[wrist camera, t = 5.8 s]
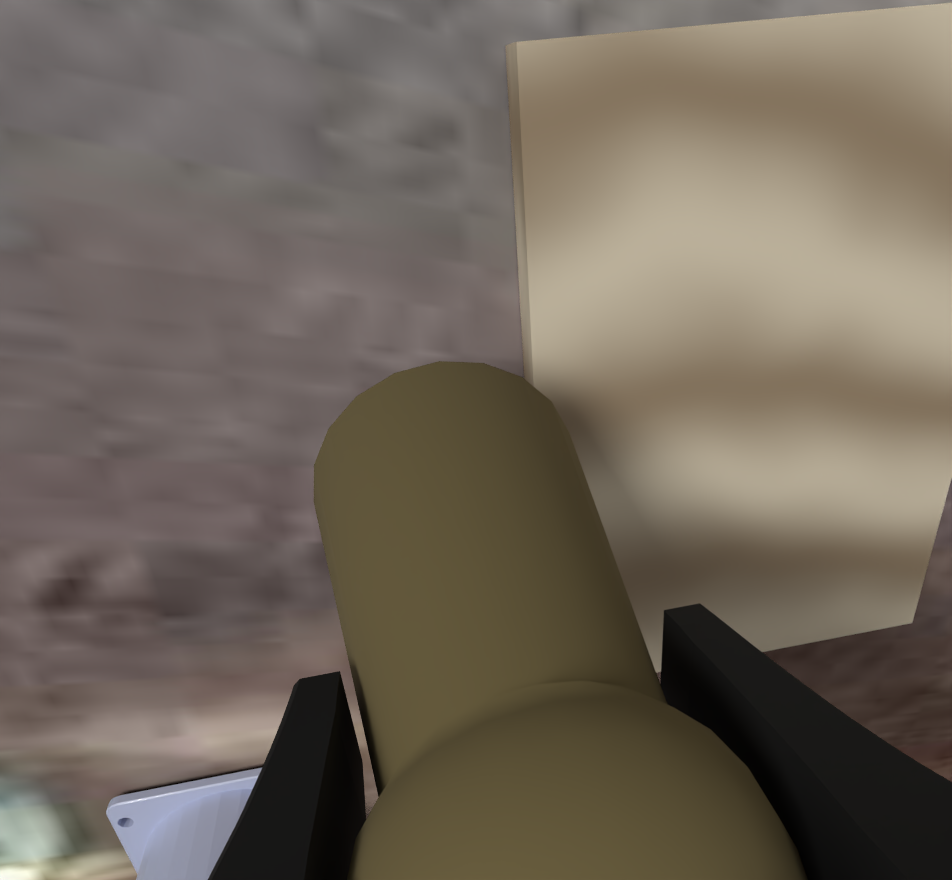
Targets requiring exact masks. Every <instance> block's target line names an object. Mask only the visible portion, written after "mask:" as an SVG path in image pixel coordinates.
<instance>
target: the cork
mask: <svg viewBox="0 0 952 880" xmlns="http://www.w3.org/2000/svg"><path fill="white" fill-rule="evenodd" d="M314 505H315V509H316V514H317V519H318V523H319V528H320V532H321V537H322V541H323V546H324V550H325V555H326V559H327V564H328V569H329V573H330V578H331V582H332V587H333V591H334V596H335V600H336V605H337V610H338V614H339V619H340V623H341V628H342V632H343V637H344V641H345V646H346V650H347V655H348V660H349V664H350V669H351V673H352V678H353V682H354V687H355V691H356V696H357V701H358V705H359V710H360V714H361V719H362V723H363V728H364V732H365V737H366V741H367V746H368V751H369V755H370V760H371V764H372V769H373V773H374V778H375V782H376V787H377V792H378V796H379V798H378V800H377V801H376V803H375V805H374V807H373V809H372V810H371V812H370V814H369V816H368V817H367V819H366V821H365V823H364V825H363V826H362V828H361V830H360V832H359V834H358V835H357V837H356V839H355V844H354V849H353V853H352V858H351V863H350V867H349V872H348V877H347V880H808V879H807V876H806V873H805V870H804V867H803V864H802V861H801V858H800V855H799V852H798V849H797V848H796V846H795V844H794V842H793V841H792V839H791V837H790V836H789V834H788V832H787V830H786V829H785V827H784V825H783V824H782V822H781V820H780V818H779V817H778V815H777V813H776V812H775V810H774V809H773V807H772V805H771V804H770V802H769V801H768V799H767V797H766V796H765V794H764V792H763V791H762V789H761V788H760V786H759V784H758V783H757V781H756V780H755V778H754V776H753V775H752V773H751V771H750V770H749V768H748V767H747V766H746V765H745V764H744V763H743V762H742V761H741V760H740V759H739V758H738V757H737V756H736V755H735V754H734V753H733V752H732V751H731V750H730V749H729V748H728V746H727V745H726V744H725V743H724V742H723V741H722V740H721V739H720V738H719V737H718V736H717V735H716V734H715V733H714V732H713V731H712V730H711V729H709V728H707V727H706V726H704V725H702V724H701V723H699V722H697V721H696V720H694V719H692V718H691V717H689V716H687V715H686V714H684V713H682V712H681V711H679V710H677V709H675V708H674V707H672V706H669V705H667V702H666V699H665V696H664V694H663V691H662V688H661V685H660V682H659V680H658V677H657V674H656V671H655V669H654V666H653V663H652V660H651V658H650V655H649V652H648V649H647V646H646V644H645V641H644V638H643V635H642V633H641V630H640V627H639V624H638V622H637V619H636V616H635V613H634V610H633V608H632V605H631V602H630V599H629V597H628V594H627V591H626V588H625V586H624V583H623V580H622V577H621V574H620V572H619V569H618V566H617V563H616V561H615V558H614V555H613V552H612V549H611V547H610V544H609V541H608V538H607V536H606V533H605V530H604V527H603V525H602V522H601V519H600V516H599V513H598V511H597V508H596V505H595V502H594V500H593V497H592V494H591V491H590V489H589V486H588V483H587V480H586V477H585V475H584V472H583V469H582V466H581V464H580V461H579V458H578V455H577V452H576V450H575V447H574V444H573V441H572V439H571V436H570V433H569V431H568V429H567V428H566V426H565V424H564V422H563V420H562V419H561V417H560V415H559V413H558V412H557V410H556V408H555V406H554V405H553V403H552V401H551V400H549V399H548V398H547V397H546V396H544V395H543V394H542V393H541V392H540V391H538V390H537V389H536V388H535V387H534V386H532V385H531V384H530V383H529V382H527V381H526V380H525V379H524V378H523V377H520V376H517V375H515V374H512V373H509V372H506V371H504V370H501V369H498V368H495V367H493V366H490V365H487V364H484V363H467V362H440V361H439V362H435V363H431V364H427V365H424V366H420V367H416V368H412V369H408V370H404V371H401V372H397V373H394V374H392V375H391V376H389V377H388V378H386V379H384V380H383V381H381V382H379V383H378V384H376V385H374V386H373V387H371V388H370V389H368V390H366V391H365V392H363V393H361V394H360V395H358V396H356V398H355V399H354V400H353V401H352V402H351V403H350V405H349V406H348V407H347V408H346V409H345V410H344V411H343V413H342V414H341V415H340V416H339V417H338V418H337V420H336V421H335V422H334V423H333V424H332V425H331V426H330V428H329V429H328V431H327V434H326V436H325V439H324V442H323V444H322V447H321V449H320V452H319V454H318V457H317V459H316V462H315V464H314Z"/></svg>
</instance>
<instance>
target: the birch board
mask: <svg viewBox="0 0 952 880" xmlns="http://www.w3.org/2000/svg"><path fill="white" fill-rule="evenodd" d="M505 46H506V64H507V81H508V99H509V117H510V134H511V152H512V170H513V187H514V205H515V222H516V240H517V258H518V275H519V293H520V311H521V328H522V346H523V364H524V379H525V380H526V381H527V382H529V383H530V384H531V385H532V386H534V387H535V388H536V389H537V390H538V391H540V392H541V393H542V394H543V395H544V396H546V397H547V398H548V399H549V400H551V401H552V403H553V405H554V406H555V408H556V410H557V412H558V413H559V415H560V417H561V419H562V420H563V422H564V424H565V426H566V428H567V429H568V431H569V433H570V436H571V439H572V441H573V444H574V447H575V450H576V452H577V455H578V458H579V461H580V464H581V466H582V469H583V472H584V475H585V477H586V480H587V483H588V486H589V489H590V491H591V494H592V497H593V500H594V502H595V505H596V508H597V511H598V513H599V516H600V519H601V522H602V525H603V527H604V530H605V533H606V536H607V538H608V541H609V544H610V547H611V549H612V552H613V555H614V558H615V561H616V563H617V566H618V569H619V572H620V574H621V577H622V580H623V583H624V586H625V588H626V591H627V594H628V597H629V599H630V602H631V605H632V608H633V610H634V613H635V616H636V619H637V622H638V624H639V627H640V630H641V633H642V635H643V638H644V641H645V644H646V646H647V649H648V652H649V655H650V658H651V660H652V663H653V666H654V669H655V671H656V673H657V672H661V662H662V640H663V618H664V610H667V609H672V608H678V607H683V606H688V605H693V604H699V603H700V604H702V605H703V606H704V607H705V608H707V609H708V610H709V611H711V612H712V613H713V614H714V615H716V616H717V617H718V618H720V619H721V620H722V621H723V622H725V623H726V624H727V625H728V626H730V627H731V628H732V629H733V630H735V631H736V632H737V633H738V634H740V635H741V636H742V637H743V638H745V639H746V640H747V641H748V642H750V643H751V644H752V645H753V646H755V647H756V648H757V649H759V650H760V651H761V652H766V651H771V650H776V649H781V648H786V647H791V646H796V645H802V644H807V643H812V642H817V641H822V640H827V639H833V638H838V637H843V636H848V635H853V634H858V633H864V632H869V631H874V630H879V629H884V628H889V627H894V626H900V625H905V624H910V623H912V622H913V618H914V615H915V611H916V607H917V604H918V600H919V596H920V593H921V589H922V585H923V581H924V578H925V574H926V570H927V567H928V563H929V559H930V556H931V552H932V548H933V545H934V541H935V537H936V534H937V530H938V526H939V522H940V519H941V515H942V511H943V508H944V504H945V500H946V497H947V493H948V489H949V486H950V482H951V478H952V3H945V4H934V5H923V6H911V7H900V8H889V9H878V10H867V11H856V12H845V13H834V14H822V15H811V16H800V17H789V18H778V19H767V20H756V21H745V22H733V23H722V24H711V25H700V26H689V27H678V28H667V29H656V30H645V31H633V32H622V33H611V34H600V35H589V36H578V37H567V38H556V39H544V40H533V41H522V42H515V43H512V44H509V45H505Z"/></svg>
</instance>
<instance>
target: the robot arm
mask: <svg viewBox="0 0 952 880" xmlns="http://www.w3.org/2000/svg"><path fill="white" fill-rule="evenodd" d="M660 685H661V688H662V691H663V694H664V696H665V699H666V702H667V705H669V706H672V707H674V708H675V709H677V710H679V711H681V712H682V713H684V714H686V715H687V716H689V717H691V718H692V719H694V720H696V721H697V722H699V723H701V724H702V725H704V726H706V727H707V728H709V729H711V730H712V731H713V732H714V733H715V734H716V735H717V736H718V737H719V738H720V739H721V740H722V741H723V742H724V743H725V744H726V745H727V746H728V748H729V749H730V750H731V751H732V752H733V753H734V754H735V755H736V756H737V757H738V758H739V759H740V760H741V761H742V762H743V763H744V764H745V765H746V766H747V767H748V768H749V770H750V771H751V773H752V775H753V776H754V778H755V780H756V781H757V783H758V784H759V786H760V788H761V789H762V791H763V792H764V794H765V796H766V797H767V799H768V801H769V802H770V804H771V805H772V807H773V809H774V810H775V812H776V813H777V815H778V817H779V818H780V820H781V822H782V824H783V825H784V827H785V829H786V830H787V832H788V834H789V836H790V837H791V839H792V841H793V842H794V844H795V846H796V848H797V849H798V852H799V855H800V858H801V861H802V864H803V867H804V870H805V873H806V876H807V879H808V880H952V782H950V781H949V780H947V779H945V778H944V777H942V776H940V775H939V774H937V773H935V772H933V771H932V770H930V769H928V768H927V767H925V766H923V765H922V764H920V763H918V762H917V761H915V760H914V759H912V758H910V757H909V756H907V755H906V754H904V753H902V752H901V751H899V750H898V749H896V748H895V747H893V746H891V745H890V744H888V743H887V742H885V741H884V740H882V739H881V738H879V737H878V736H877V735H875V734H874V733H872V732H871V731H869V730H868V729H866V728H865V727H863V726H862V725H860V724H859V723H857V722H856V721H854V720H853V719H851V718H850V717H848V716H847V715H846V714H844V713H843V712H841V711H840V710H839V709H837V708H836V707H834V706H833V705H831V704H830V703H829V702H827V701H826V700H825V699H823V698H822V697H821V696H819V695H818V694H817V693H815V692H814V691H812V690H811V689H810V688H808V687H807V686H806V685H804V684H803V683H802V682H800V681H799V680H798V679H796V678H795V677H794V676H792V675H791V674H790V673H788V672H787V671H786V670H784V669H783V668H782V667H780V666H779V665H778V664H776V663H775V662H774V661H773V660H771V659H770V658H769V657H768V656H766V655H765V654H764V653H762V652H761V651H760V650H759V649H757V648H756V647H755V646H753V645H752V644H751V643H750V642H748V641H747V640H746V639H745V638H743V637H742V636H741V635H740V634H738V633H737V632H736V631H735V630H733V629H732V628H731V627H730V626H728V625H727V624H726V623H725V622H723V621H722V620H721V619H720V618H718V617H717V616H716V615H714V614H713V613H712V612H711V611H709V610H708V609H707V608H705V607H704V606H703V605H702V604H700V603H699V604H693V605H688V606H683V607H678V608H672V609H667V610H664V618H663V640H662V662H661V684H660ZM106 813H107V817H108V818H109V820H110V822H111V824H112V826H113V828H114V830H115V832H116V834H117V836H118V838H119V840H120V841H121V843H122V845H123V847H124V849H125V851H126V853H127V855H128V857H129V859H130V861H131V862H132V864H133V866H134V868H135V870H136V872H137V874H138V875H137V879H136V880H347V877H348V872H349V867H350V863H351V858H352V853H353V849H354V844H355V839H356V837H357V835H358V834H359V832H360V830H361V828H362V826H363V825H364V823H365V821H366V812H365V795H364V779H363V763H362V758H361V754H360V750H359V746H358V742H357V738H356V734H355V730H354V726H353V722H352V718H351V714H350V710H349V706H348V702H347V698H346V694H345V690H344V686H343V682H342V678H341V674H340V671H339V672H334V673H328V674H323V675H318V676H313V677H307V678H302V679H299V680H298V682H297V683H296V684H295V685H294V687H293V690H292V693H291V696H290V699H289V702H288V705H287V707H286V710H285V713H284V716H283V718H282V721H281V724H280V726H279V729H278V731H277V734H276V736H275V739H274V741H273V744H272V746H271V748H270V751H269V753H268V755H267V758H266V760H265V763H264V765H263V767H262V768H257V769H251V770H246V771H241V772H236V773H231V774H226V775H221V776H216V777H211V778H206V779H201V780H196V781H190V782H185V783H180V784H175V785H170V786H165V787H160V788H155V789H150V790H145V791H140V792H135V793H129V794H124V795H120V796H117V797H114V798H113V799H112V800H110V802H109V805H108V808H107V811H106Z"/></svg>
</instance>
